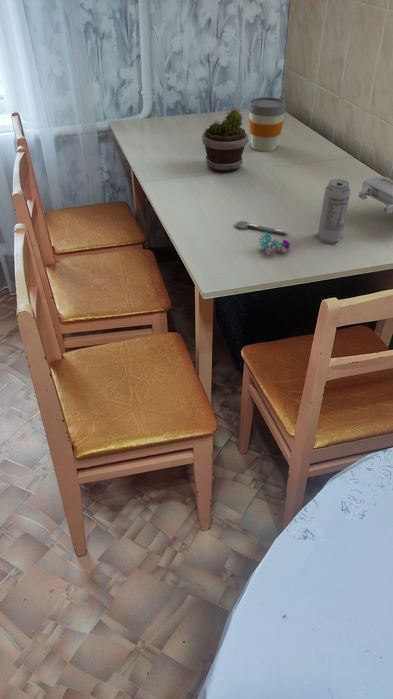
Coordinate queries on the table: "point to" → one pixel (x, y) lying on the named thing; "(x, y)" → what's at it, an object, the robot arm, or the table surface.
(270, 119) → the reusable coffee cup
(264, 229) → the grey flat-headed rod tool
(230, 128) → the flowerpot
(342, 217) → the energy drink can
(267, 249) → the anatomy model
